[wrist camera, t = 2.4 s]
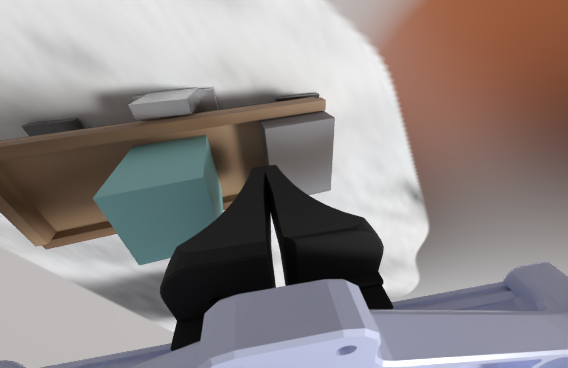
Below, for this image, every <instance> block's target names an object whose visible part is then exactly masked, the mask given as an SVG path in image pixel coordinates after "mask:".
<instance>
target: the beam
mask: <svg viewBox="0 0 568 368" xmlns="http://www.w3.org/2000/svg"><path fill="white" fill-rule="evenodd" d="M325 102H326V100H325V99H323V98H315V97H310V98H303V99H295V100H288V101H281V102H274V103H267V104H260V105H253V106H245V107H238V108H231V109H224V110H217V111H210V112H202V113H195V114H188V115H175V116H166V117H163V118H160V119H152V120H145V121H138V122H131V123H124V124H117V125H109V126H102V127H95V128H88V129H81V130H74V131H67V132H59V133H52V134H45V135H38V136H31V137H24V138H16V139H9V140H2V141H0V213H1V214H3V215H4V216H5V217H6V218H7V219H8V220H9V221H10V222H11V223H12V224H13V225H14V226H15V227H16V228H17V229H18V230H19V231H20V232H21V233H22V234H23V235H24V236H25V237H26V238H27V239H29V240H30V241H31V242H32V243H33V244H34V245H35V246H41V245H42V246H43V247H44V248H45V249H50V248H55V247H59V246H64V245H68V244H73V243H77V242H82V241H87V240H91V239H96V238H100V237H105V236H109V235H114V234H117V233H116V231H115V230H114V228H113V227H112V225H111V224H110V223H109V221H108V220H107V218H106V217H105V215H104V214H103V213H102V211H101V210H100V208H99V207H98V205H97V204H96V203H95V201H94V200H93V197H94V196H95V195H96V193H97V192H98V191H99V189H100V188H101V187H102V186H103V184H104V183H105V182H106V180H107V179H108V178H109V176H110V175H111V174H112V173H113V171H114V170H115V169H116V167H117V166H118V165H119V164H120V162H121V161H122V160H123V158H124V157H125V156H126V155H127V153H128V152H129V151H130V149H131V148H132V147H133V146H139V145H146V144H152V143H158V142H165V141H171V140H177V139H184V138H190V137H196V136H203V135H207V139H208V142H209V146H210V149H211V153H212V156H213V160H214V164H215V167H216V171H217V174H218V178H219V181H220V185H221V189H222V200H223V210H226V209H227V208H228V207H229V206H230V204H231V203H232V202H233V201H234V199H235V198H236V197H237V195H238V194H239V192H240V191H241V189H242V187H243V186H244V184H245V182H246V180H247V178H248V176H249V174H250V172H251V169H252V168H254V167H262V166H269V165H277V166H278V167H279V169H280V170H281V171H282V173H283V174H284V175H285V176H286V177H287V178H288V179H289V180H290V181H291V182H292V183H293V184H294V185H295V186H297V187H298V188H299V189H300V190H302V191H303V192H304V193H306V194H307V195H312V194H316V193H321V192H325V191H330V190H331V174H332V156H333V139H334V122H335V118H334V117H333V116H331V115H329V114H328V113H326V112H325V111H323V110H325Z"/></svg>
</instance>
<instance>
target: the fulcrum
mask: <svg viewBox="0 0 568 368" xmlns="http://www.w3.org/2000/svg"><path fill="white" fill-rule="evenodd" d="M310 97H315V98H319V94H318V93H311V94H301V95H292V96H283V97H275V99H276V102H281V101H288V100H295V99H303V98H310ZM131 98H132V100H133V102H132V103H130V104H129V105H128V106H129V108H130V110H131V112H132V114H133V117H134V119H135V120H139V119H141V121H145V120H152V119H160V118H163V117H166V116H175V115H188V114H195V113H202V112H210V111H217V110H219V108H218V104H217V100H216V95H215V91H214V88H207V89H198V88H190V89H180V90H170V91H160V92H150V93H148V94H147V95H137V96H133V97H131ZM22 127H23V129H24V130H25V131H26V132H27V134H28V135H29V136H30V137H31V136H38V135H45V134H52V133H59V132H67V131H74V130H81V129H84V128H83V126H82V124H81V123H80V121H79V119H78V118H76V119H67V120H57V121H48V122H39V123H29V124H26V125H23V126H22Z"/></svg>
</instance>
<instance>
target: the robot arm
mask: <svg viewBox="0 0 568 368" xmlns="http://www.w3.org/2000/svg"><path fill="white" fill-rule="evenodd" d="M270 212H271V214H270ZM271 216H272V220H273V224H274V228H275V232H276V236H277V239H278V243H279V248H280V253H281V259H282V266H283V272H284V279H285V286H283V287H277V288H276V285H275V276H274V268H273V260H272V251H271ZM383 248H384V246H383V244H382V241H381V239H380V238H379V236H378V235H377V233H376V232H375V230H374V229H373V228H372V227H371V225H370V224H369V223H368V222H367V221H366V220H365V218H363V217H359V216H356V215H352V214H349V213H345V212H342V211H340V210H337V209H335V208H332V207H330V206H327V205H325V204H323V203H321V202H319V201H317V200H315V199H314V198H312V197H310V196H309V195H307V194H306V193H304V192H303V191H302V190H300V189H299V188H298V187H297V186H295V185H294V184H293V183H292V182H291V181H290V180H289V179H288V178H287V177H286V176H285V175H284V174H283V173H282V171H281V170H280V169H279V167H278V166H277V165H269V166H262V167H254V168H252V169H251V172H250V174H249V176H248V178H247V180H246V182H245V184H244V186H243V187H242V189H241V191H240V192H239V194H238V195H237V197H236V198H235V199H234V201H233V202H232V203H231V204H230V206H229V207H228V208H227V209H226V210H225V211H224V212H223V213H222V214H221V215H220V216H219V217H218V218H217V219H216V220H214V221H213V222H212V223H211V224H210V225H208V226H207V227H206V228H204V229H203V230H202V231H200V232H199V233H198V234H196V235H195V236H193V237H191V238H190V239H188V240H187V241H185V242H184V243H182V244H180V245H179V246H177V247H176V249H175V251H174V253H173V255H172V257H171V259H170V262H169V264H168V267H167V269H166V272H165V275H164V278H163V281H162V284H161V287H160V295H161V297H162V299H163V301H164V303H165V304H166V306H167V307H168V308H169V310H170V311H171V313H172V314H173V316H174V317H175V318H176V320H177V324H176V328H175V332H174V336H173V340H172V343H171V344H165V345H160V346H154V347H149V348H143V349H138V350H133V351H127V352H122V353H117V354H111V355H106V356H101V357H95V358H90V359H85V360H79V361H74V362H68V363H63V364H58V365H52V366H47V367H41V368H568V276H567V275H565V274H564V273H563V272H561V271H560V270H559V269H557V268H556V267H554V266H553V265H552V264H550V263H549V262H541V263H535V264H530V265H525V266H520V267H517V268H514V269H513V270H511V271H510V272H509V273H508V274H507V275H506V276H505V278H504V280H503V282H498V283H493V284H487V285H482V286H477V287H471V288H466V289H461V290H455V291H450V292H445V293H439V294H434V295H428V296H423V297H417V298H412V299H407V300H401V301H396V302H391V301H390V299H389V298H388V296H387V294H386V292H385V290H384V288H383V286H382V285H383V279H382V277H381V276H380V274H379V272H378V270H379V266H380V263H381V259H382V255H383ZM0 368H26V367H24V366H23V365H21V364H19V363H17V362H14V361H6V360H3V361H0Z"/></svg>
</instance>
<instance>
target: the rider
mask: <svg viewBox="0 0 568 368" xmlns="http://www.w3.org/2000/svg"><path fill="white" fill-rule="evenodd" d="M93 200H94V201H95V203H96V204H97V205H98V207H99V208H100V210H101V211H102V213H103V214H104V215H105V217H106V218H107V220H108V221H109V223H110V224H111V225H112V227H113V228H114V230H115V231H116V233H117V234H118V235H119V237H120V238H121V240H122V241H123V243H124V244H125V245H126V247H127V248H128V250H129V251H130V253H131V254H132V255H133V257H134V258H135V260H136V261H137V263H138V264H139V265H143V264H147V263H151V262H155V261H159V260H163V259H167V258H171V257H172V255H173V253H174V251H175V249H176V247H177V246H179V245H180V244H182V243H184V242H185V241H187V240H188V239H190V238H191V237H193V236H195V235H196V234H198V233H199V232H200V231H202V230H203V229H204V228H206V227H207V226H208V225H210V224H211V223H212V222H213V221H214V220H216V219H217V218H218V217H219V216H220V215H221V214H222V213H223V200H222V189H221V185H220V181H219V178H218V174H217V171H216V167H215V164H214V160H213V156H212V153H211V149H210V146H209V142H208V139H207V135H203V136H196V137H190V138H184V139H177V140H171V141H165V142H158V143H152V144H146V145H139V146H133V147H132V148H131V149H130V151H129V152H128V153H127V155H126V156H125V157H124V158H123V160H122V161H121V162H120V164H119V165H118V166H117V167H116V169H115V170H114V171H113V173H112V174H111V175H110V176H109V178H108V179H107V180H106V182H105V183H104V184H103V186H102V187H101V188H100V189H99V191H98V192H97V193H96V195H95V196H94V197H93Z"/></svg>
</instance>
